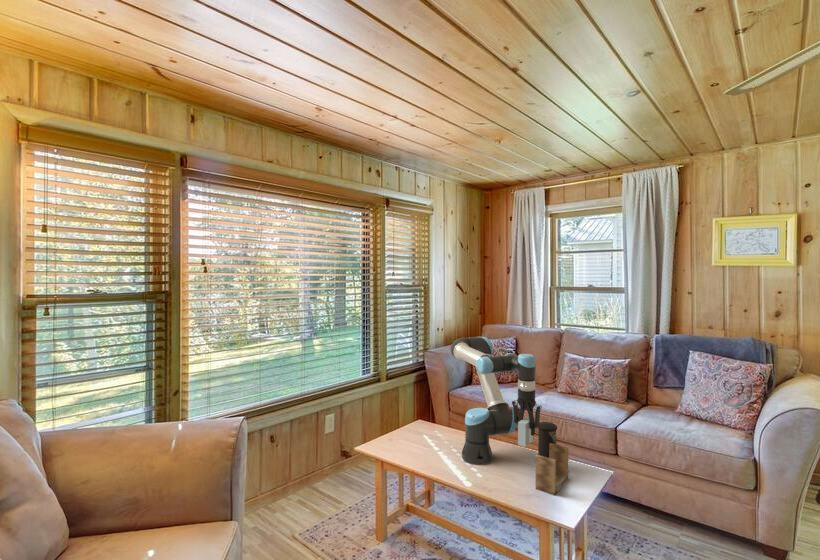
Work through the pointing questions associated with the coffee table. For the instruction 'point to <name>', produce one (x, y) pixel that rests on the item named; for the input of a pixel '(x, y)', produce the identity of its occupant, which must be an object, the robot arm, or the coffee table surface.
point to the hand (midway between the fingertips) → (526, 440)
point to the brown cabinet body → (552, 469)
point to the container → (546, 437)
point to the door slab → (524, 432)
